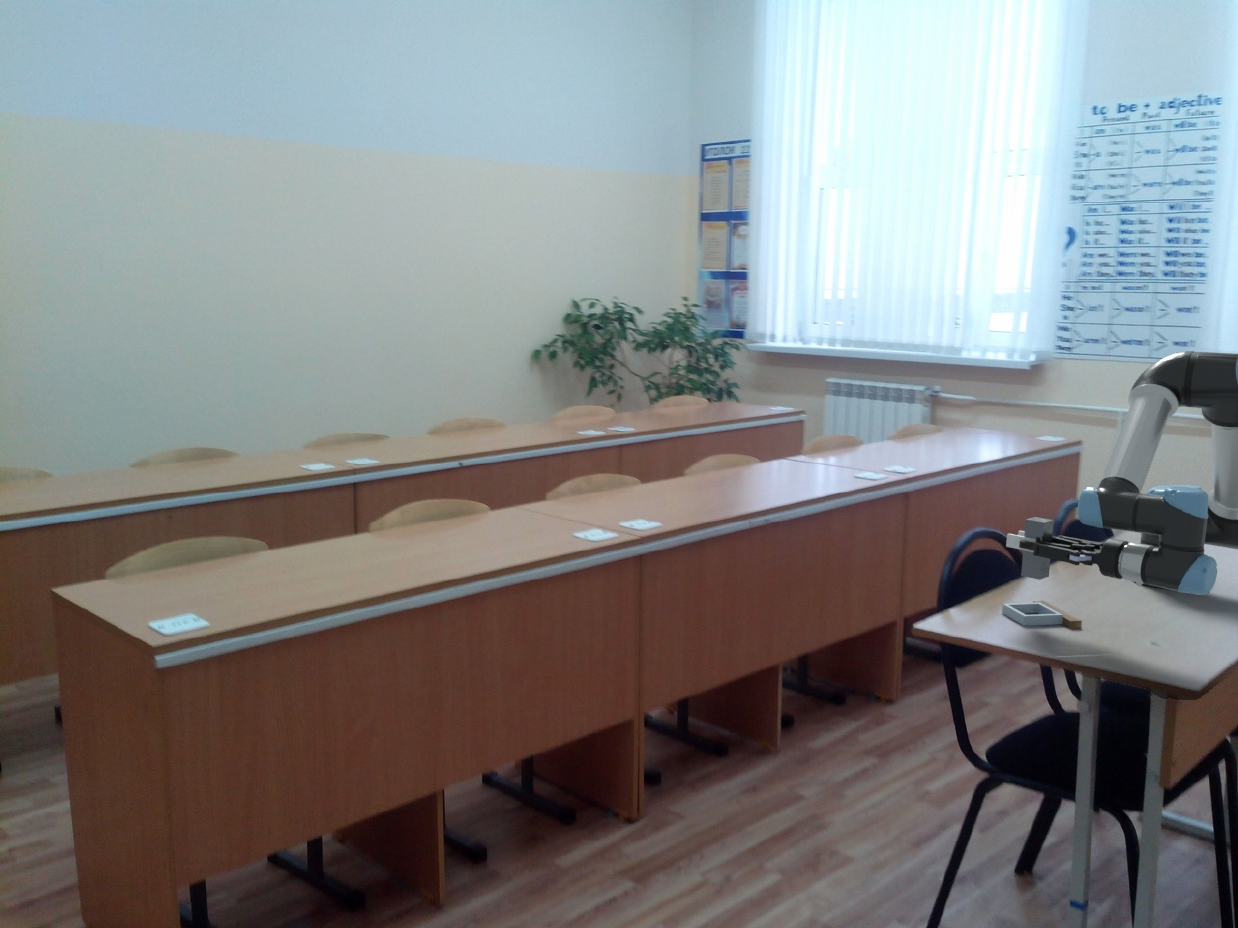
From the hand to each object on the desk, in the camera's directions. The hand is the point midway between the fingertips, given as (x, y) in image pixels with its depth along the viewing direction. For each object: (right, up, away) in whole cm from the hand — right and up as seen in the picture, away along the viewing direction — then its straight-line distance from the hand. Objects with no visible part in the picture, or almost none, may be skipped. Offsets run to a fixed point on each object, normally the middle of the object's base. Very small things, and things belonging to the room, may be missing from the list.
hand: (1013, 538), depth 221 cm
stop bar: (+3, -8, -3) cm, 9 cm away
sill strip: (+9, -17, 0) cm, 19 cm away
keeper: (+3, -17, -1) cm, 17 cm away
